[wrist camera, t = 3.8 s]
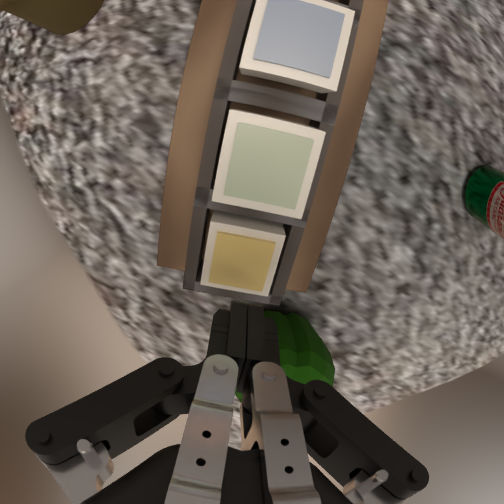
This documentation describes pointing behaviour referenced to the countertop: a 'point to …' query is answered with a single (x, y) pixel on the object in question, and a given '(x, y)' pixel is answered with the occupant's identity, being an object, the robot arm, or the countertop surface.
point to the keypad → (266, 103)
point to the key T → (298, 43)
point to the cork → (54, 13)
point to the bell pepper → (301, 350)
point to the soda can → (487, 198)
